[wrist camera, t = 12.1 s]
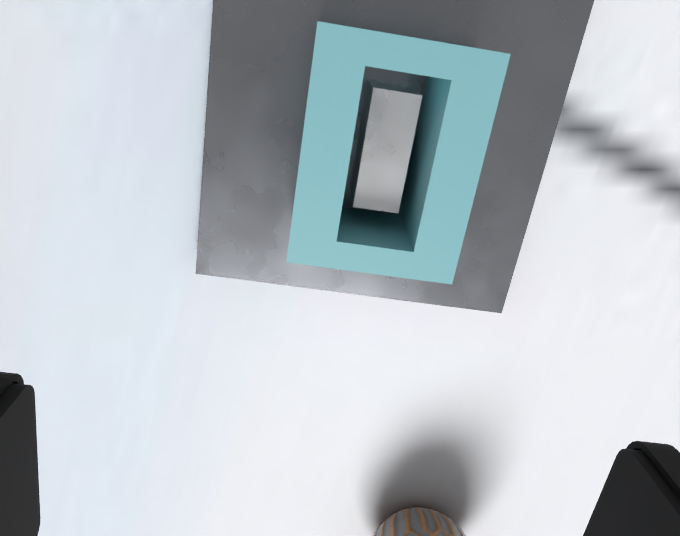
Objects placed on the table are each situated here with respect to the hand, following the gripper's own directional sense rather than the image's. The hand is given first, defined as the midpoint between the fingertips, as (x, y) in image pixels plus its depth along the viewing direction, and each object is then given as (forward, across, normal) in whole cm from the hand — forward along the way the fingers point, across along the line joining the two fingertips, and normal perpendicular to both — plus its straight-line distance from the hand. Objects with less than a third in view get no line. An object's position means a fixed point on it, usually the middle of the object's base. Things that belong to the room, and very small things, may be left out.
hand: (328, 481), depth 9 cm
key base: (+21, -2, -2) cm, 21 cm away
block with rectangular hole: (+20, -2, -2) cm, 20 cm away
